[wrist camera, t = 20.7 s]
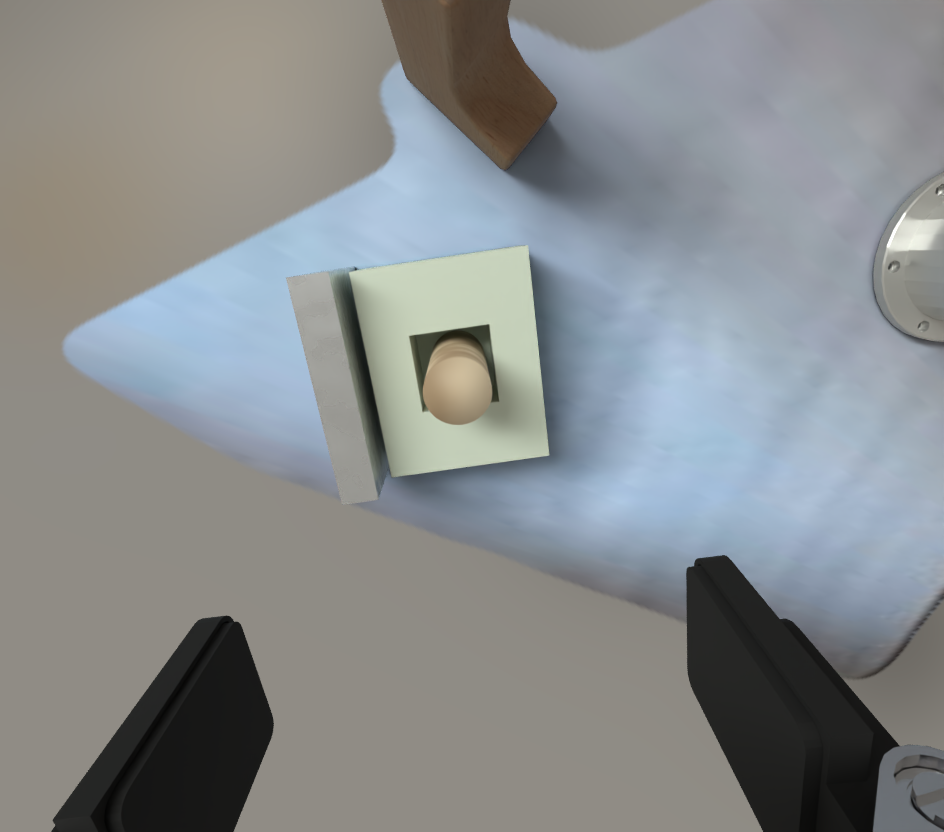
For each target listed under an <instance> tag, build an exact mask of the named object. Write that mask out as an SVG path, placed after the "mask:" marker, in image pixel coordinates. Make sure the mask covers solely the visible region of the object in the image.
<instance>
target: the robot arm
mask: <svg viewBox="0 0 944 832" xmlns="http://www.w3.org/2000/svg"><path fill="white" fill-rule="evenodd" d="M873 279H874V290H875V294H876V298H877V302H878V304H879V306H880V308H881V310H882V312H883V314H884V315H885V317H886V318H887V319H888V320H889V321H890V322H891V323H892V325H893V326H895V327H896V328H898V329H899V330H901V331H902V332H904V333H906V334H908V335H911V336H913V337H916V338H920V339H925V340H930V341H940V342H944V172H943V173H941V174H939V175H937V176H936V177H934V178H932V179H930V180H929V181H928V182H926V183H925V184H924V185H922V186H921V187H920V188H919V189H917V190H916V191H915V192H914V193H913V194H912V195H911V196H910V197H909V198H908V199H907V200H906V201H905V202H904V203H903V204H902V205H901V206H900V208H899V209H898V211H897V212H896V213H895V215H894V216H893V218H892V219H891V220H890V222H889V224H888V226H887V228H886V230H885V232H884V234H883V236H882V238H881V240H880V244H879V247H878V250H877V253H876V257H875V263H874V270H873ZM686 579H687V665H688V666H687V667H688V668H687V669H688V676H689V681H690V684H691V687H692V689H693V692H694V694H695V696H696V698H697V700H698V702H699V704H700V706H701V708H702V710H703V712H704V714H705V716H706V718H707V720H708V722H709V724H710V726H711V728H712V730H713V732H714V734H715V736H716V738H717V740H718V742H719V744H720V746H721V748H722V750H723V752H724V754H725V756H726V758H727V760H728V762H729V764H730V766H731V768H732V770H733V772H734V774H735V776H736V778H737V780H738V782H739V784H740V786H741V788H742V790H743V792H744V794H745V796H746V798H747V800H748V802H749V804H750V806H751V808H752V810H753V812H754V814H755V816H756V818H757V820H758V822H759V824H760V826H761V828H762V830H763V832H944V751H942V750H938V749H935V748H932V747H929V746H920V745H904V746H899V745H898V743H897V742H896V741H895V740H894V739H893V738H892V736H891V735H890V734H889V733H888V732H887V731H886V729H885V728H884V727H883V726H882V725H881V724H880V722H879V721H878V720H877V719H876V718H875V717H874V715H873V714H872V713H871V712H870V711H869V710H868V708H867V707H866V706H865V705H864V704H863V703H862V701H861V700H860V699H859V698H858V697H857V696H856V694H855V693H854V692H853V691H852V690H851V689H850V688H849V686H848V685H847V684H846V683H845V682H844V680H843V679H842V678H841V677H840V676H839V675H838V673H837V672H836V671H835V670H834V669H833V668H832V666H831V665H830V664H829V663H828V662H827V661H826V659H825V658H824V657H823V656H822V655H821V653H820V652H819V651H818V650H817V649H816V648H815V646H814V645H813V644H812V643H811V642H810V641H809V639H808V638H807V637H806V636H805V635H804V634H803V632H802V631H801V630H800V629H799V628H798V627H797V626H796V625H795V624H794V623H793V622H792V621H790V620H788V619H779V618H778V617H777V615H776V614H775V613H774V612H773V611H772V609H771V608H770V607H769V606H768V604H767V603H766V602H765V601H764V600H763V598H762V597H761V596H760V595H759V594H758V592H757V591H756V590H755V589H754V588H753V586H752V585H751V584H750V583H749V581H748V580H747V579H746V578H745V577H744V575H743V574H742V573H741V572H740V571H739V569H738V568H737V567H736V566H735V564H734V563H733V562H732V561H731V560H730V559H729V558H728V557H727V556H725V555H722V556H714V557H706V558H698V559H696V560H695V563H694V566H693V567H688V568H687V573H686ZM273 724H274V723H273V717H272V713H271V710H270V707H269V704H268V701H267V698H266V696H265V693H264V690H263V687H262V684H261V681H260V678H259V675H258V672H257V670H256V667H255V664H254V661H253V658H252V655H251V652H250V649H249V646H248V643H247V641H246V638H245V635H244V632H243V629H242V627H241V624H240V623H239V622H234V621H233V619H232V618H231V617H230V616H220V617H211V618H203V619H201V620H198V621H197V622H196V623H195V624H194V626H193V627H192V629H191V630H190V631H189V633H188V634H187V635H186V637H185V638H184V640H183V641H182V642H181V644H180V645H179V646H178V648H177V649H176V651H175V652H174V653H173V655H172V656H171V658H170V659H169V660H168V662H167V663H166V664H165V666H164V667H163V668H162V670H161V671H160V673H159V674H158V675H157V677H156V678H155V680H154V681H153V682H152V684H151V685H150V686H149V688H148V689H147V691H146V692H145V693H144V695H143V696H142V697H141V699H140V700H139V702H138V703H137V704H136V706H135V707H134V708H133V710H132V711H131V713H130V714H129V715H128V717H127V718H126V720H125V721H124V722H123V724H122V725H121V726H120V728H119V729H118V730H117V732H116V733H115V735H114V736H113V737H112V739H111V740H110V742H109V743H108V744H107V746H106V747H105V748H104V750H103V751H102V753H101V754H100V755H99V757H98V758H97V760H96V761H95V762H94V764H93V765H92V766H91V768H90V769H89V770H88V772H87V773H86V775H85V776H84V777H83V779H82V780H81V782H80V783H79V784H78V786H77V787H76V788H75V790H74V791H73V793H72V794H71V795H70V797H69V798H68V799H67V801H66V802H65V804H64V805H63V806H62V808H61V809H60V810H59V812H58V813H57V815H56V816H55V817H54V819H53V822H54V824H55V825H56V826H55V827H54V828H53V830H52V832H233V831H234V829H235V827H236V824H237V822H238V819H239V817H240V814H241V811H242V809H243V807H244V804H245V802H246V799H247V797H248V794H249V792H250V789H251V787H252V784H253V782H254V779H255V777H256V774H257V772H258V770H259V767H260V764H261V762H262V759H263V757H264V755H265V752H266V750H267V747H268V745H269V742H270V740H271V736H272V733H273V726H274V725H273Z"/></svg>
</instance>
